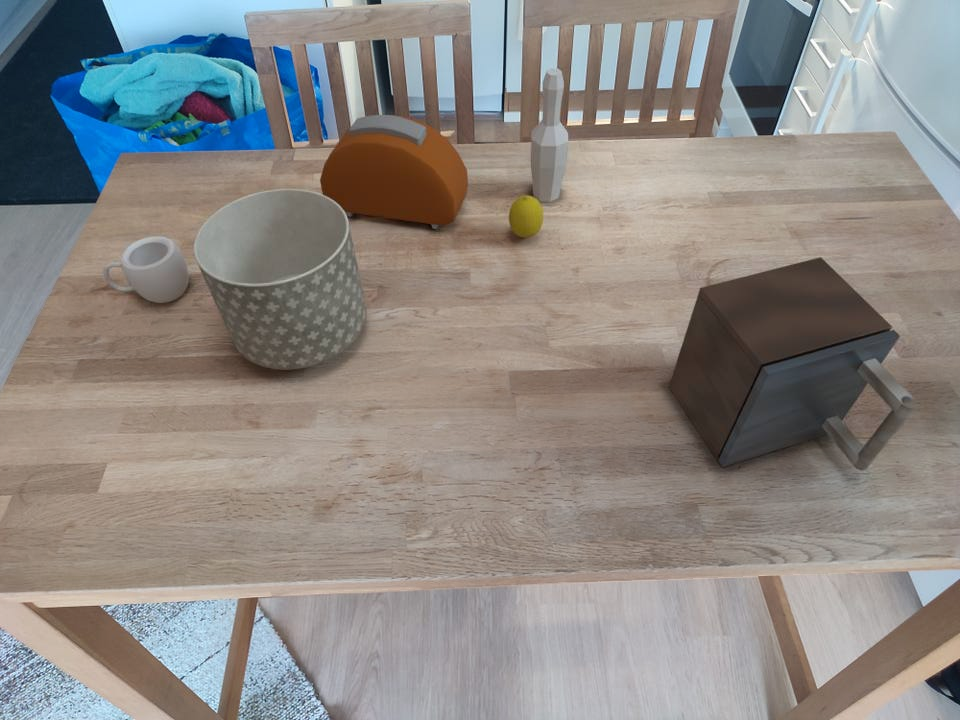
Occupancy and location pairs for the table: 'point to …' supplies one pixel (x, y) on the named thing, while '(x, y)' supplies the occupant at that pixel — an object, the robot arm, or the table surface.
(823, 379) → the door
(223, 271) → the planter
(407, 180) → the orange toaster
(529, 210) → the lemon
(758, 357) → the cupboard
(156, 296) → the mug
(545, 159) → the low poly bottle
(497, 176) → the table surface
